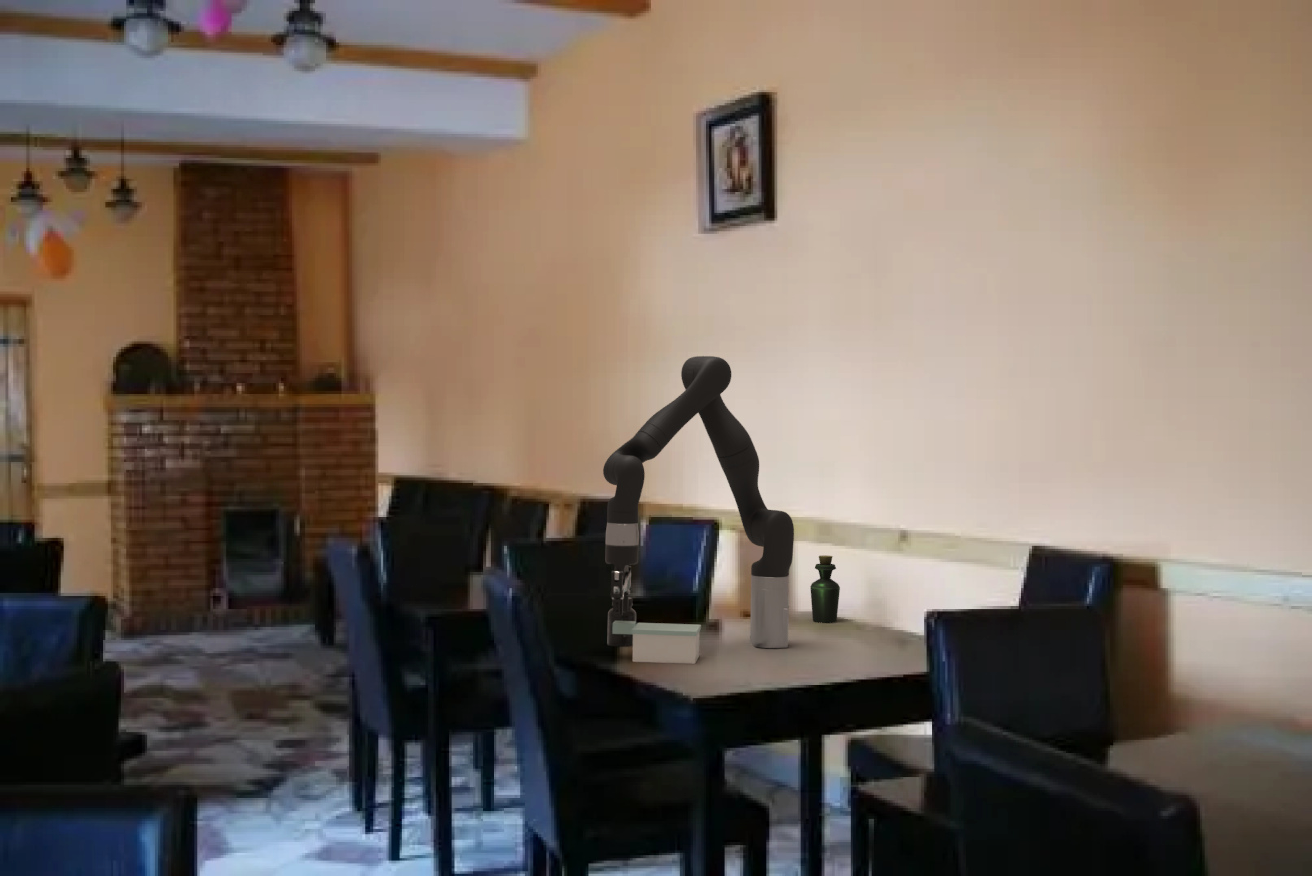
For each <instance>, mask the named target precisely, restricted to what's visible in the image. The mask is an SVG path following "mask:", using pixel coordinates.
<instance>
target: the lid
mask: <svg viewBox="0 0 1312 876" xmlns="http://www.w3.org/2000/svg"><path fill="white" fill-rule="evenodd" d="M701 630H702V624H688V623H685V624H684V623H663V622H661V623H659V622H657V623H656V622H637V620H636V621H614V622H613V633H612V634H646V635H676V636H697V634H698V633H699V634H700V632H701Z"/></svg>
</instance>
